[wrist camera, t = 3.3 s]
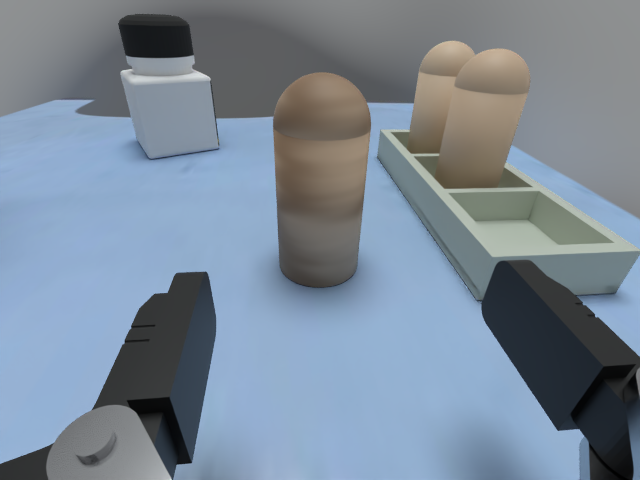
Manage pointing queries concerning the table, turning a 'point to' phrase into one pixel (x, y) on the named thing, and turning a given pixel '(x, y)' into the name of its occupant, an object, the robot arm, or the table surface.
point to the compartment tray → (491, 178)
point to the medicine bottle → (166, 87)
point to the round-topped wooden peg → (320, 178)
